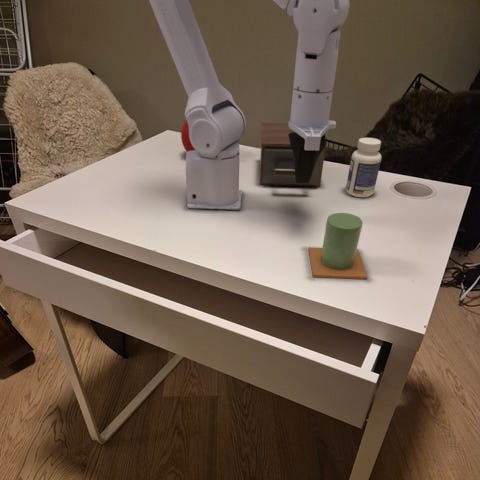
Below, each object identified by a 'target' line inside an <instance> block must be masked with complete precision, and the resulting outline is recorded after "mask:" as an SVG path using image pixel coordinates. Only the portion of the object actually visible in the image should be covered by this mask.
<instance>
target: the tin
mask: <svg viewBox="0 0 480 480" xmlns="http://www.w3.org/2000/svg"><path fill="white" fill-rule="evenodd" d="M363 224H364V223H363V220H362V219H361V218H360V217H359V216H357V215H355V214H352V213H347V212H336V213H331V214H329V216H327V218H326V225H325V229H324V230H325V231H324V236H323V242H322V247H321V248H322V254H321V262H322V264H323V265H325V266H326V267H328V268H331V269H335V270H345V269H349V268H351V267H352V266H353V264H354V260H355V255H356V251H357V249H358V245H359V242H360V237H361V233H362V229H363Z"/></svg>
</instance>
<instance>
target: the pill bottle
mask: <svg viewBox="0 0 480 480" xmlns="http://www.w3.org/2000/svg"><path fill="white" fill-rule="evenodd" d="M356 145H357V146H356V148H357V150H354V151H353V153H352V154H351V157H350V164H349V169H348V174H347V180H346V185H345V186H346V187H345V191H346V193H347V194H348V195H351V196H353V197H356V198H368V197H371V196H372V195H373V194H374V192H375V189H376V184H377V180H378V177H379V176H378V175H379V171H380V167H381V166H380V165H381V162H382V155H381V153H380V152H379V151H380V149H381V145H382V141H381V139H378V138H376V137H361V138H359V139H358V142H357V144H356Z"/></svg>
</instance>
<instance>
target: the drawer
mask: <svg viewBox="0 0 480 480" xmlns="http://www.w3.org/2000/svg"><path fill="white" fill-rule="evenodd" d="M322 154H323V151H322V152H321V154H320V155H319V157H318V159H317V162H316V164H315V167H314V170H313V173H312V176H311V179H310V181H309V183H296V179H295V170H294V154H293V150H292V148H270V147H267V148H265V151H264V170H263V183H287V184H317V185H318V182H319V175H320V168H321V161H322Z"/></svg>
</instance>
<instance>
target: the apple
mask: <svg viewBox="0 0 480 480" xmlns="http://www.w3.org/2000/svg"><path fill="white" fill-rule="evenodd" d="M180 138H181V143H182V146H183V148H184V150H185V152H186V153H187V151H194V150H195V149H194V147H193V146H192V144H191V141H190V138H189V126H188V122H187V119H185V122H184V123H183V125H182V128H181V132H180Z"/></svg>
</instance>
